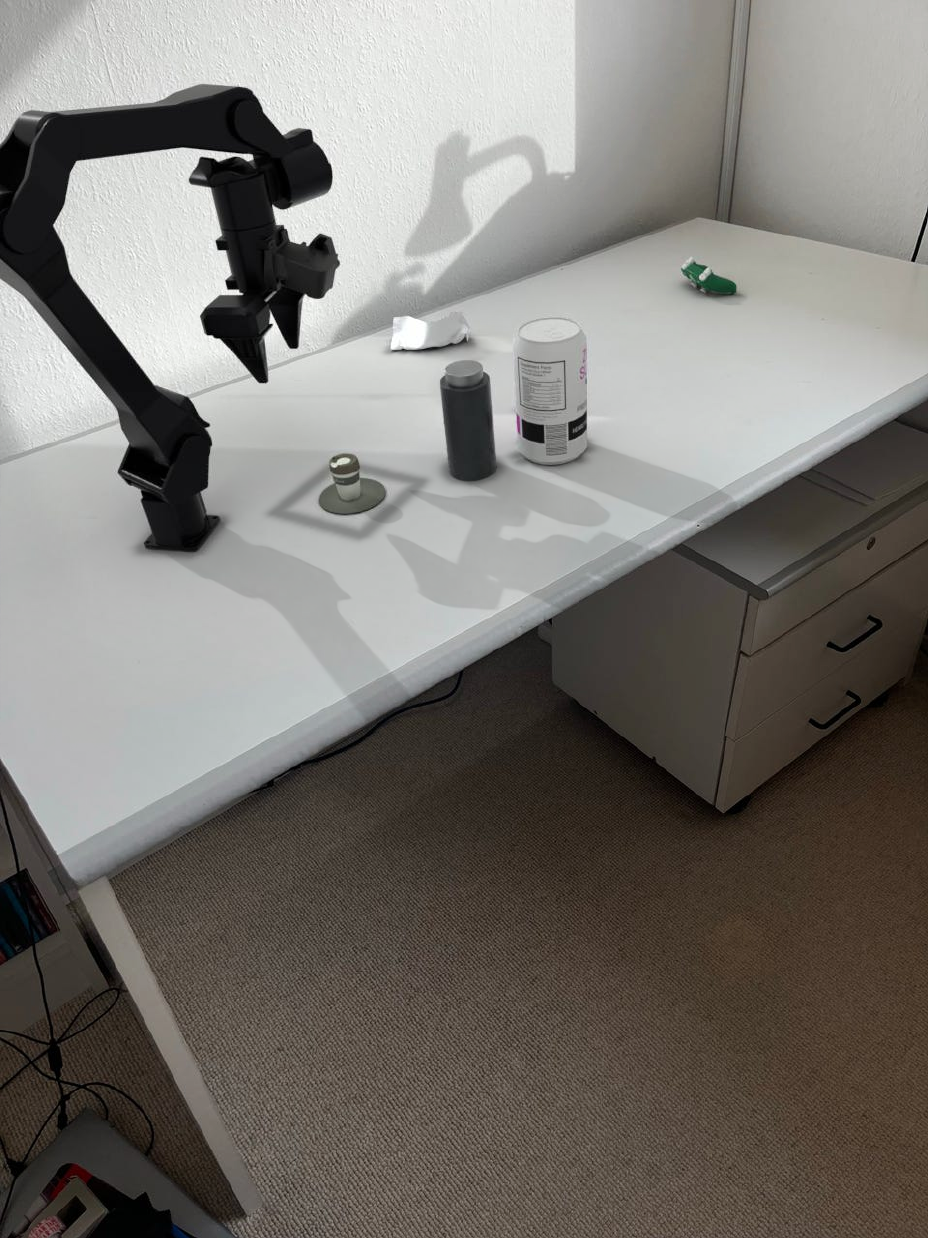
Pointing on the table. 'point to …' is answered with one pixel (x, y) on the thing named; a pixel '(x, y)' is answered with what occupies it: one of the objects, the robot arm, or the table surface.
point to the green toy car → (707, 278)
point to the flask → (468, 420)
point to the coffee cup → (350, 488)
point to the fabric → (428, 332)
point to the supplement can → (551, 389)
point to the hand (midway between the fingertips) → (279, 364)
